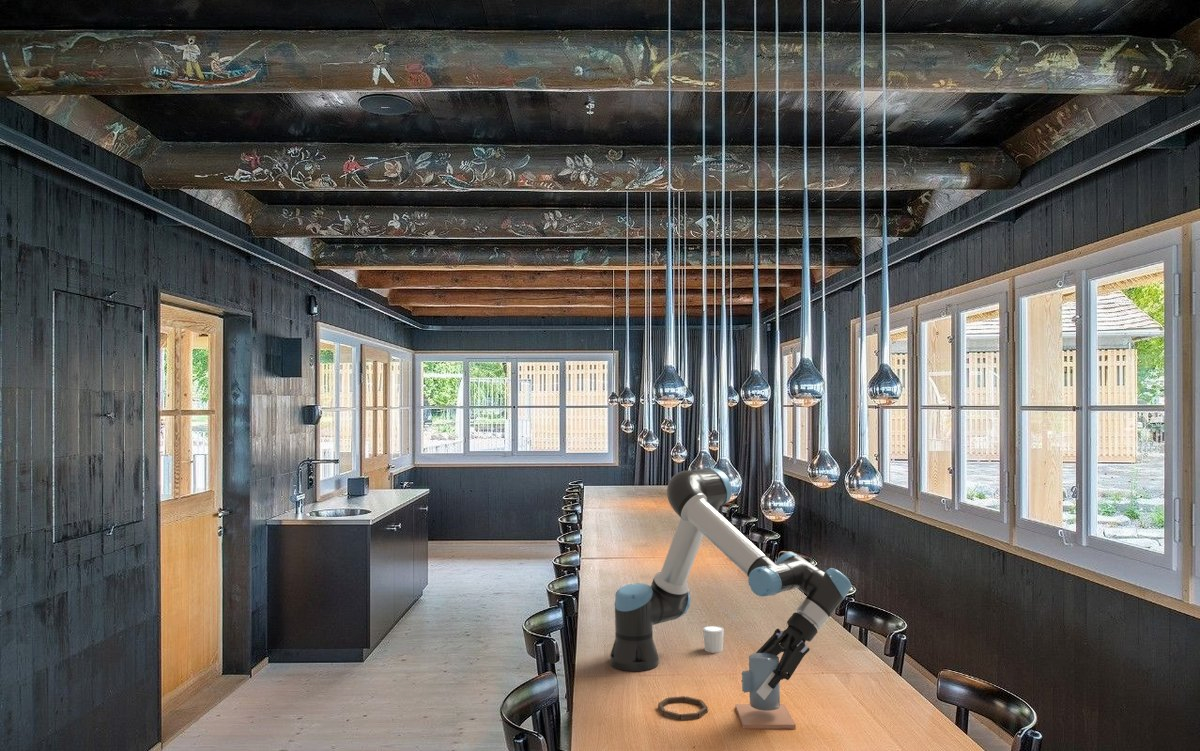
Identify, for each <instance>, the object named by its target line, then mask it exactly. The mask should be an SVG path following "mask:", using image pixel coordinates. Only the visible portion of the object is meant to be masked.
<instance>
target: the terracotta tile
mask: <svg viewBox="0 0 1200 751" xmlns="http://www.w3.org/2000/svg"><path fill="white" fill-rule="evenodd" d="M734 708H735V710H736V713H737V715H738V718H739V721H740V724H741V726H742V729H749V730H752V729H755V730H756V729H760V730H763V729H765V730H767V729H768V730H770V729H771V730H772V729H774V730H776V729H777V730H779V729H781V730H782V729H783V730H785V729H786V730H787V729H788V730H791V729H794V730H796V729H797V728H796V727H797V726H796V725H797V724H796V723H795V721H794V718H793V717H792V715H791V714H790V711H789V710H788V708H787V706H786V705H785V703H780V707H779V708H778V709H776V710H771V711H764V710H758V709H755V708H753V707H751V706H750V703H735V706H734Z"/></svg>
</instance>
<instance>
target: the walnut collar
mask: <svg viewBox="0 0 1200 751" xmlns="http://www.w3.org/2000/svg"><path fill="white" fill-rule="evenodd" d="M671 703H672V704H675V703H676V704H677V703H689V704H692V705H696V706H697V705H698V706H699V707H700V708H701V709H699V710H698V711H697V712H691V713H689V712H688V713H677V712H675V711H674V712H673V711H669V710H666V709H665V708H664V707H665V706H667V705H669V704H671ZM657 709H658V711H659V712H660V714H661V715H662V716H663V717H666V718H670V719H675V720H678V721H686V720H687V721H688V720H698V719H700V718H702V717H703V716H705V715H706V714H707V713H708V711H709V710H708V706H707V705H706V703H705V702H704V701H703V700H702V699H699V698H696V697H690V696H684V695H681V696H673V697H671V696H670V697H666V698H664V699H663V700H661V701H660V702H658V703H657Z"/></svg>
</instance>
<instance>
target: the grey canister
mask: <svg viewBox="0 0 1200 751" xmlns="http://www.w3.org/2000/svg"><path fill="white" fill-rule="evenodd" d="M779 662H780V657H779V656H778V655H777V656H776V655H773V654H769V653H756V652H755V653H751V654H750V655H749V656H748V670H742V671H741V680H742V681H741V685H742V686H741V688H742V689H741V690H742V692H743V694H744V693H749V704H750V706H751V707H753V708H755V709H758V710H764V711H771V710H776V709H778V708H779V707H780V704H781V698H780V697H781V693H780V684H781V683H780V682H779V683H778V684H777V686H776V687H775V688H774V689H773V690H772V691H771V692H770V694H769V695H768V696H767V698H766V699H765V700H764V699H763V698H762V697H761V696H759V695H758V694H757V693H756V692H757V690H758V689H759V688H760V687H761V685H762V684H763V683H764V681H765V680H766V679H767V678H768V676H769V675H770V674H771V673H772V672H773V670H776V669H777V666H778V664H779ZM773 673H774V672H773ZM774 674H775V673H774Z"/></svg>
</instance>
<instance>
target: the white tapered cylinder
mask: <svg viewBox="0 0 1200 751" xmlns="http://www.w3.org/2000/svg"><path fill="white" fill-rule="evenodd" d="M724 630H725V629H724V627H722V626H718V625H717V626H716V625H708V626H704V627H702V632H703V642H704V650H705V651H706V652H707V653H713V654H718V653H721V652H723V648H724V647H723V645H724V634H725V631H724ZM705 651H704V652H705Z"/></svg>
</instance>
